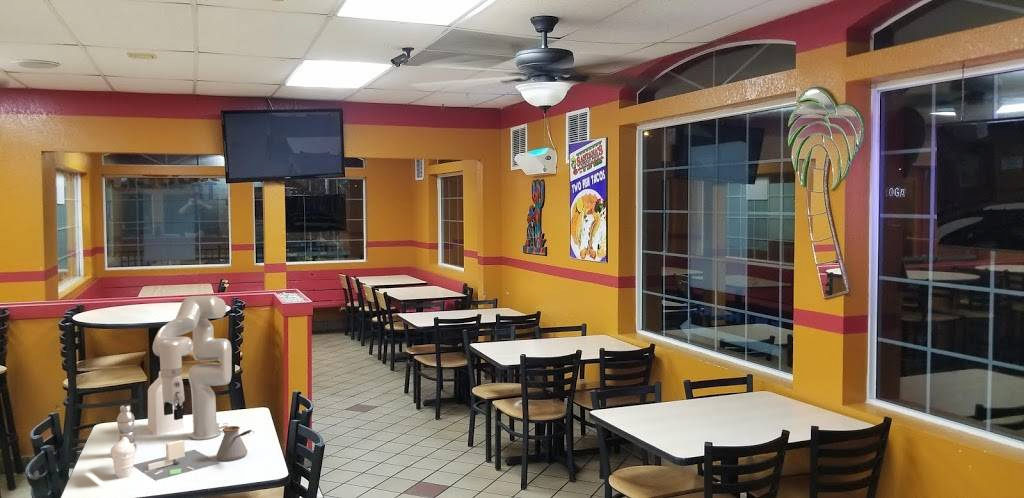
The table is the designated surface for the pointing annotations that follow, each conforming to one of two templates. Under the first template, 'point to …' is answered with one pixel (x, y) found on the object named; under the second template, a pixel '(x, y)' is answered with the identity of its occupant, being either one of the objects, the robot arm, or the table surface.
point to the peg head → (170, 455)
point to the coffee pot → (232, 444)
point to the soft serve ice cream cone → (123, 457)
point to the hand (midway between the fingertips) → (173, 416)
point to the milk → (160, 411)
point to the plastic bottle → (126, 424)
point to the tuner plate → (177, 465)
